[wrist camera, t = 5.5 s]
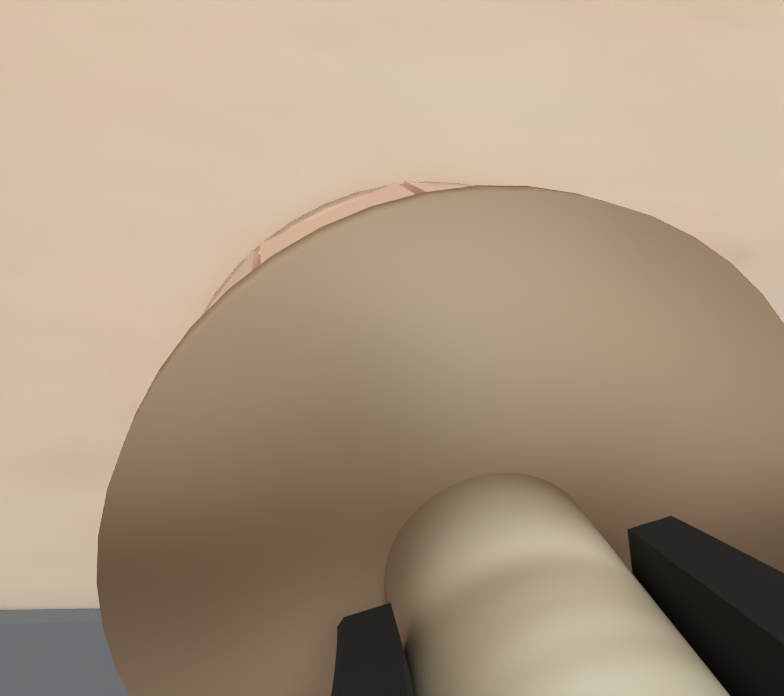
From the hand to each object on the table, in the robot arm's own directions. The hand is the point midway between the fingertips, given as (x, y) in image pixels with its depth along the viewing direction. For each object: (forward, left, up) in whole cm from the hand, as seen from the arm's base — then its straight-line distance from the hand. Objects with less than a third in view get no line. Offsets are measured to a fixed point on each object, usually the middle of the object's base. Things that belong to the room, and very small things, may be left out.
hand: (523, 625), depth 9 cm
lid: (0, 0, -2) cm, 2 cm away
